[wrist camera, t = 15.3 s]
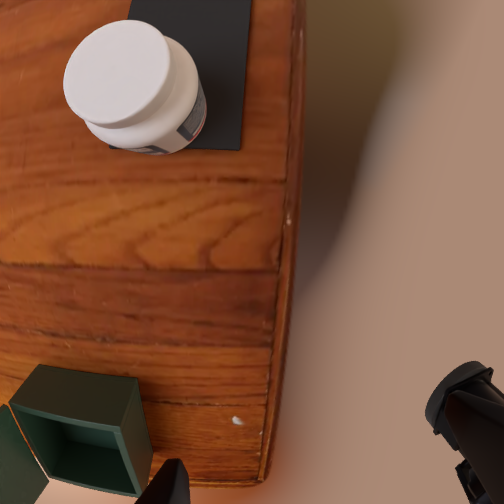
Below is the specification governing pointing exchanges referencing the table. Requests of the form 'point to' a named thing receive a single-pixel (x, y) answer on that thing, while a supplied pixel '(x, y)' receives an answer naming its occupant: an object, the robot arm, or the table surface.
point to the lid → (17, 465)
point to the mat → (208, 58)
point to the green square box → (86, 428)
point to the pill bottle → (136, 88)
